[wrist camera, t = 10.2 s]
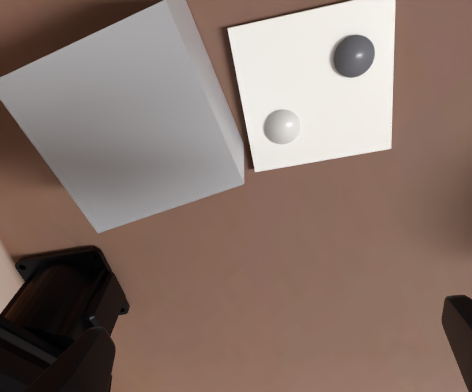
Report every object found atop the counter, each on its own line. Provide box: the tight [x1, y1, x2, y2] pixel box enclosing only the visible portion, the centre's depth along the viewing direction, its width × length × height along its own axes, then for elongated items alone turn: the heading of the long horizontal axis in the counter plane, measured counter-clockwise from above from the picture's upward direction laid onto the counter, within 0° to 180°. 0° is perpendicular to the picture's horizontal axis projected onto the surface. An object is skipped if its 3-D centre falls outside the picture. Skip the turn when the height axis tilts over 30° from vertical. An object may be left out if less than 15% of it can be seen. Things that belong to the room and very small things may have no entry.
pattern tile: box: [227, 0, 395, 172], centre depth 18 cm, size 8×8×1 cm
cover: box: [0, 0, 244, 233], centre depth 17 cm, size 8×8×5 cm
